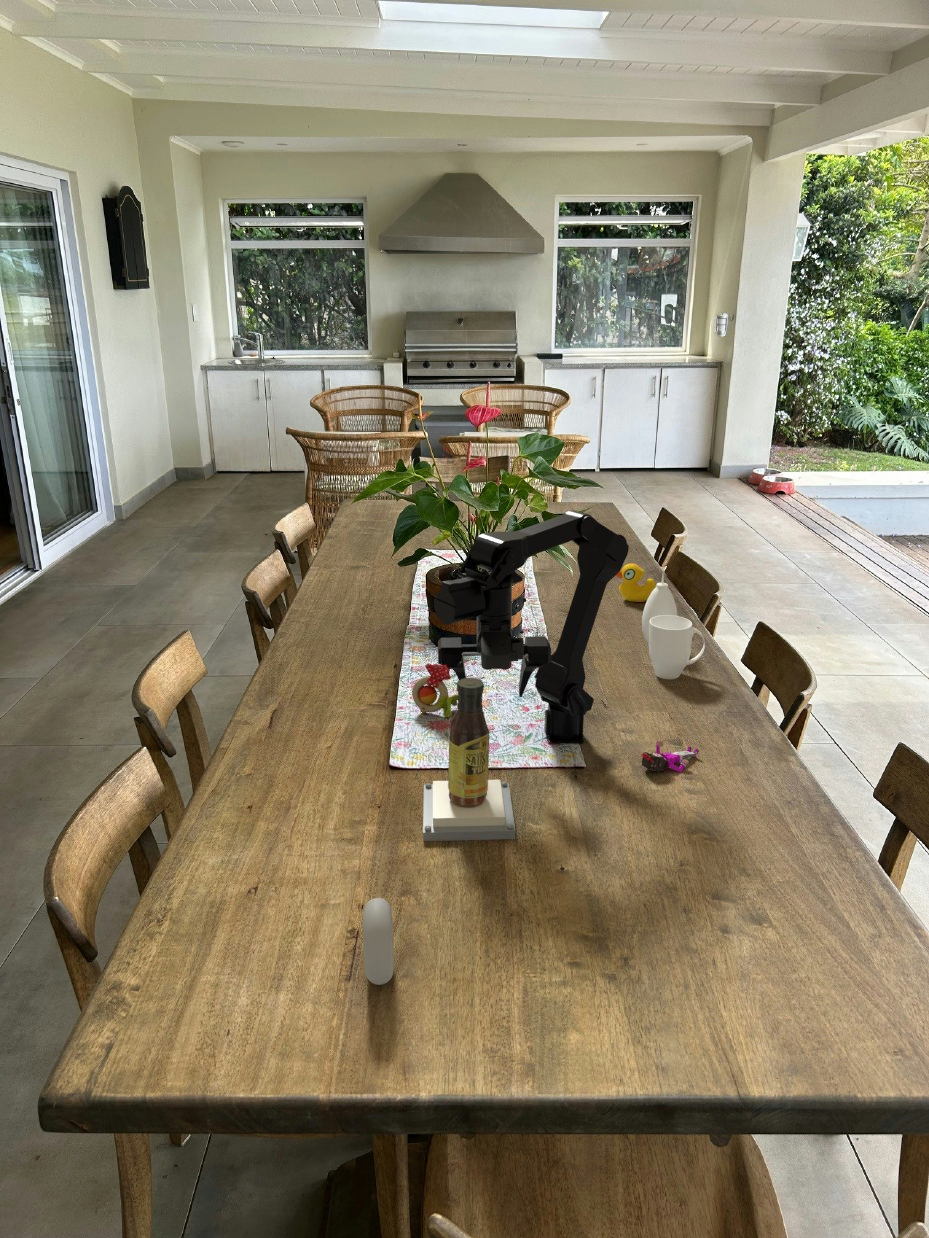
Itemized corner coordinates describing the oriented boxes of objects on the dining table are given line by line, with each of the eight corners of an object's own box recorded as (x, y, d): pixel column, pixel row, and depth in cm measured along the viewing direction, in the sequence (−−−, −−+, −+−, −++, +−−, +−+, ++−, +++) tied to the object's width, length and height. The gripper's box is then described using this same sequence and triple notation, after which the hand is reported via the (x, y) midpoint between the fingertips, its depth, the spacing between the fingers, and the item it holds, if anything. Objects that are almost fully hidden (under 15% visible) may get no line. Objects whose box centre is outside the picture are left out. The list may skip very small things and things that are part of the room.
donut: (366, 946, 117) (363, 881, 114) (394, 945, 118) (391, 880, 114) (364, 1004, 108) (361, 935, 105) (394, 1003, 108) (391, 934, 105)
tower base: (508, 790, 153) (508, 774, 152) (515, 838, 140) (515, 822, 138) (424, 792, 152) (423, 776, 151) (423, 840, 139) (422, 824, 138)
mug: (649, 682, 193) (652, 628, 189) (643, 666, 201) (646, 614, 197) (705, 683, 192) (710, 629, 188) (697, 667, 200) (702, 615, 196)
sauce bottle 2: (678, 653, 207) (684, 578, 201) (643, 653, 207) (648, 577, 201) (671, 640, 214) (677, 567, 208) (637, 640, 215) (642, 567, 208)
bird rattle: (421, 730, 178) (463, 716, 175) (397, 680, 175) (439, 665, 172) (427, 716, 183) (468, 702, 181) (404, 667, 180) (445, 653, 178)
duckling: (609, 601, 240) (611, 565, 237) (613, 595, 245) (615, 559, 241) (652, 606, 237) (655, 569, 233) (656, 600, 241) (658, 563, 238)
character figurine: (680, 755, 166) (633, 766, 159) (685, 729, 164) (638, 740, 158) (704, 769, 162) (656, 781, 155) (710, 742, 160) (662, 754, 153)
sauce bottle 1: (469, 813, 141) (469, 696, 134) (440, 798, 145) (438, 684, 138) (497, 796, 145) (498, 682, 138) (468, 783, 149) (467, 671, 142)
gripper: (437, 629, 143) (438, 719, 149) (556, 627, 144) (553, 717, 149) (437, 605, 154) (438, 689, 159) (548, 603, 154) (546, 688, 160)
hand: (493, 696), depth 156 cm, fingers open, 9 cm apart
